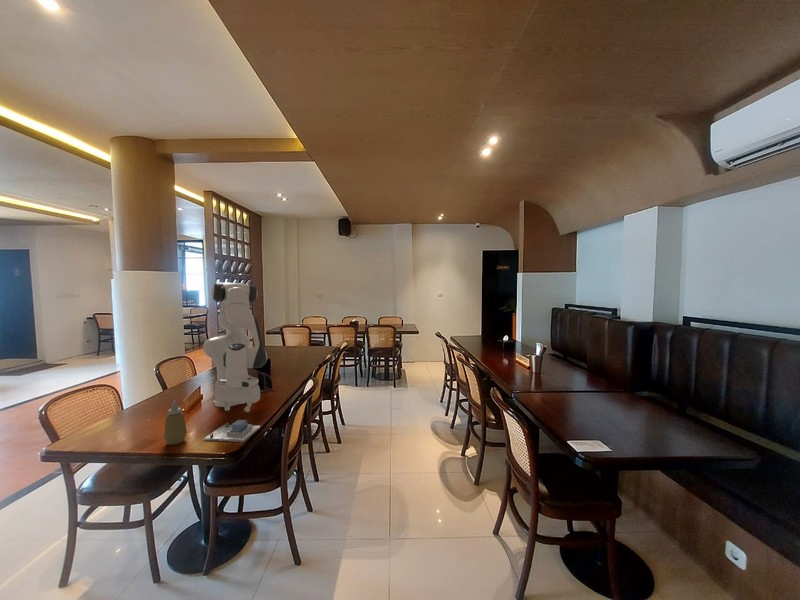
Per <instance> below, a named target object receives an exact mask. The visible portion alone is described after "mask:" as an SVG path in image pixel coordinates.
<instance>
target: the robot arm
mask: <svg viewBox="0 0 800 600" xmlns="http://www.w3.org/2000/svg"><path fill="white" fill-rule="evenodd" d="M210 291H211V292H210V293H211V298H212V300H213V301H214V302H218V303H220V307H219V317H218V325H219V327H220V328H221V329H224V330H225V331H226V333H225V335H219V336H214V337H211V338H209V339H205V341H204V343H203V345H202V351H203V353H204V354H205V355H206V356H207V357H209V358H211V360H212V361H213V362H214V364H215V367H216V375H217V376H216V381H215V383H214V387H215V388H214V395H213V398H214V399H213V401H212V403H213V404H214V406H215V407H217V408H224V411H230V409H231V407H233V406H238V405H243V404H245V403H246V405H247V406H245V408H244V412H245V413H249V412H250V411H251V406H252V405H253V404H256V403H258V402H259V401H260V400H261V393H260V388H259V385H257V383H258V382H259V380H258V379H257V378H254V377H252V376H250V375H248V371H247V368H253V369H257V368H258V369H261V368H262V367H264V366H265V365H266V364H267V361H268V353H267V351H266V348H265V346H264V341H263V335H262V333H261V328H260V324H259V323H260V322H259V321H258V319H257V316H254V315H253V314H252V312H251V309H250V308H251V307H250V304H253V303H254V302H256V300H257V298H258V293H259V292H258V289H257V287H256V286H255V285H253V284H250V283H249V284H247V283H242V282H223V281H221V282H219V281H218V282H215V283H214V284H213V286H212V287H211V290H210ZM243 329H246V330H248V331H249V332H250V333H251V335H252V339H253V343H254V346H252V347H250V343H251V341H250V338H249V336H248V335H247V334H245V333H244V331H243Z"/></svg>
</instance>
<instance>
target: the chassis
mask: <svg viewBox="0 0 800 600" xmlns="http://www.w3.org/2000/svg"><path fill="white" fill-rule="evenodd" d="M231 429H232V424H229V423H228V422H227V423H225V424H223V425H221V426H220V427H218V428H217V429H215V430H214V431H212V432H210V434H208V435H207V436H205V437H204V438H203V441H209V442H211V441H212V442H235V443H236V442H237V443H239V442H240V443H244V442H246V441H247V440H248V439H250V437H252V435H254V434H255V433H256V432H257V431H258V430H260V429H261V425H253V424H250V423H248V425H247V427H246V428H245V429H243V430H242V431H239V432H233V431H230V430H231Z"/></svg>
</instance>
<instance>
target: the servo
mask: <svg viewBox="0 0 800 600" xmlns="http://www.w3.org/2000/svg"><path fill="white" fill-rule="evenodd" d="M248 424H249V423H248V420H247V419H237V420H236V421H234V422H233V423H231V425H232V429H231V430H230V431H233V432H239V431H242V430H243V429H245V428H246V427H247V425H248Z"/></svg>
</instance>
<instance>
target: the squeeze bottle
mask: <svg viewBox="0 0 800 600" xmlns="http://www.w3.org/2000/svg"><path fill="white" fill-rule="evenodd" d="M167 413H168V414H167V415H166V416H165V422H164V434H163V437H164V440H165V441H166V445H168V446H174V445H179V444H181V443H183V442H184V441H185V439H186V436H187V433H188V431H187V424H186V419H185V418H186V417H185V413H184V412H182V407H179V406H178V403H177V400H173V401H172V403H171V408H169V409H168V410H167Z"/></svg>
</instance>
